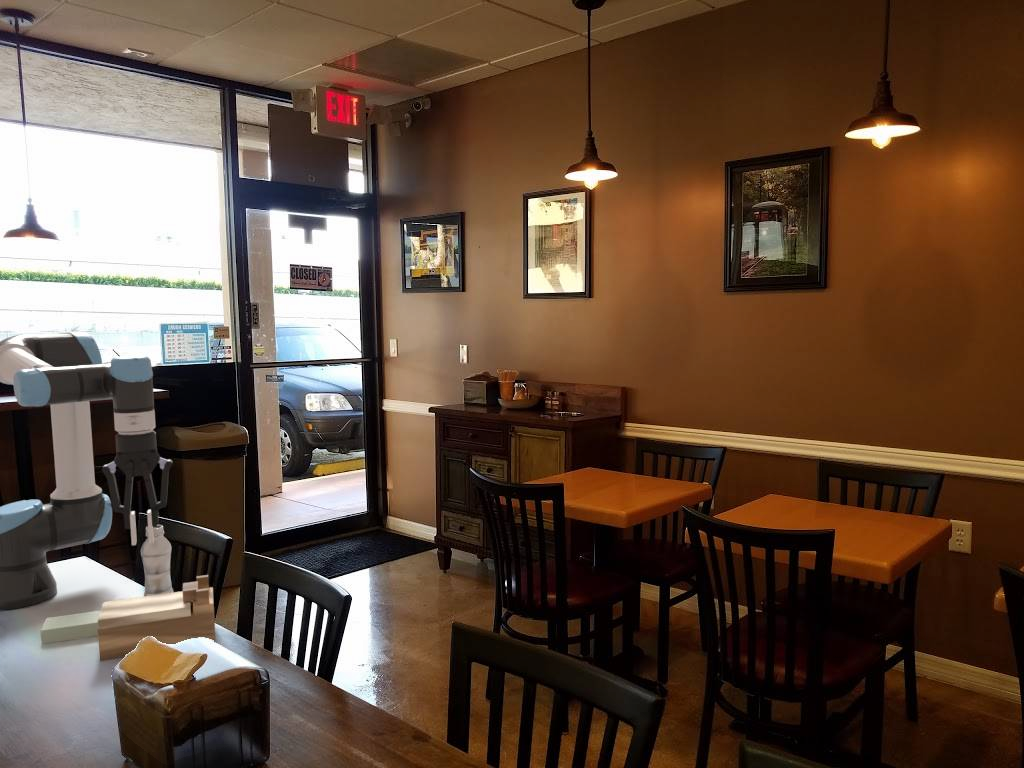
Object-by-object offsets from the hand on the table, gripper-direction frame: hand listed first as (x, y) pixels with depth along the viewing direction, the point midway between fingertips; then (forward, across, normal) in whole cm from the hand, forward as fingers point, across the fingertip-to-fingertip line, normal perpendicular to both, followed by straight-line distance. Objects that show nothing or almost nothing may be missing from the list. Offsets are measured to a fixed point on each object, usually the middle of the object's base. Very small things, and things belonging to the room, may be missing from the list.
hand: (142, 542), depth 163 cm
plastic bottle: (+23, +1, +20) cm, 30 cm away
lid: (+16, 0, 0) cm, 16 cm away
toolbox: (+23, +2, 0) cm, 23 cm away
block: (+13, +9, 0) cm, 16 cm away
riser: (+23, -15, +13) cm, 30 cm away
